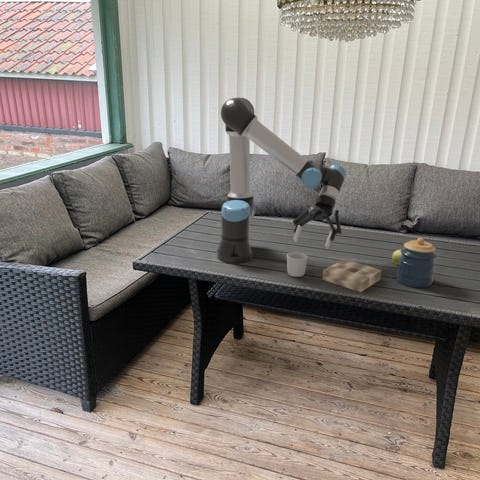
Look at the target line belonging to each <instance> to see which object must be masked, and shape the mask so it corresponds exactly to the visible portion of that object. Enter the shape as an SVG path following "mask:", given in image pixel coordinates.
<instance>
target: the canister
mask: <svg viewBox="0 0 480 480" xmlns="http://www.w3.org/2000/svg"><path fill="white" fill-rule="evenodd" d="M400 250H401V253H402V254H401V257H400V258H399V260H400V261H399V265H398V268H397V272H396V280H397V282H399V283H400V284H402V285H404V286H408V287H411V288H417V289H418V288H419V289H423V288H424V289H425V288H428V287H430V286H431V285H432V283H433V280H434V275H435V274H434V273H435V267H436V259H437V257H438V254H437V252H436V250H437V249H436V247H435V246H433V244H432V243H430V242H427V241H425V239H424V238H423V237H418V238H417V239H416V240H415V239H414V240H413V239H412V240H409V241H407V242H405V243H403V247H402V248H401V249H400Z"/></svg>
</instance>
